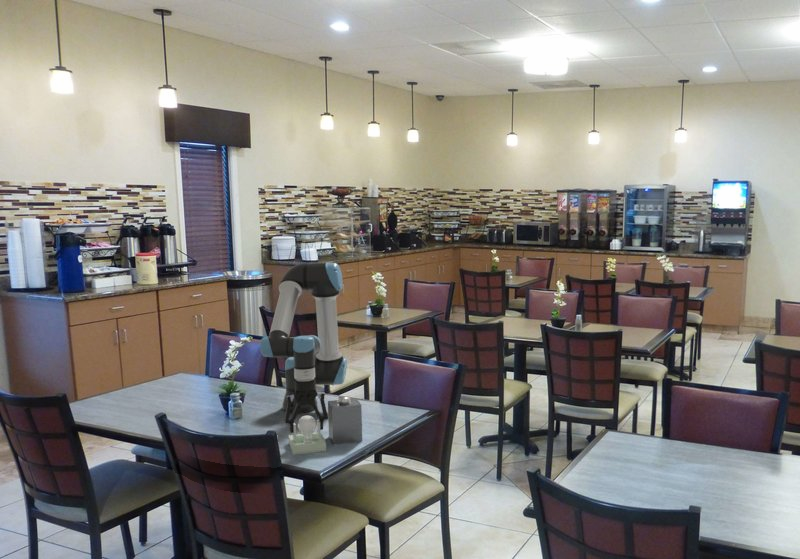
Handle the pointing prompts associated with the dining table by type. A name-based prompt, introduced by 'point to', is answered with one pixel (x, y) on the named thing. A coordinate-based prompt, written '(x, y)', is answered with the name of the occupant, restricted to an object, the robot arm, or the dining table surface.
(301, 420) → the light bulb
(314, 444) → the tray
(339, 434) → the housing
